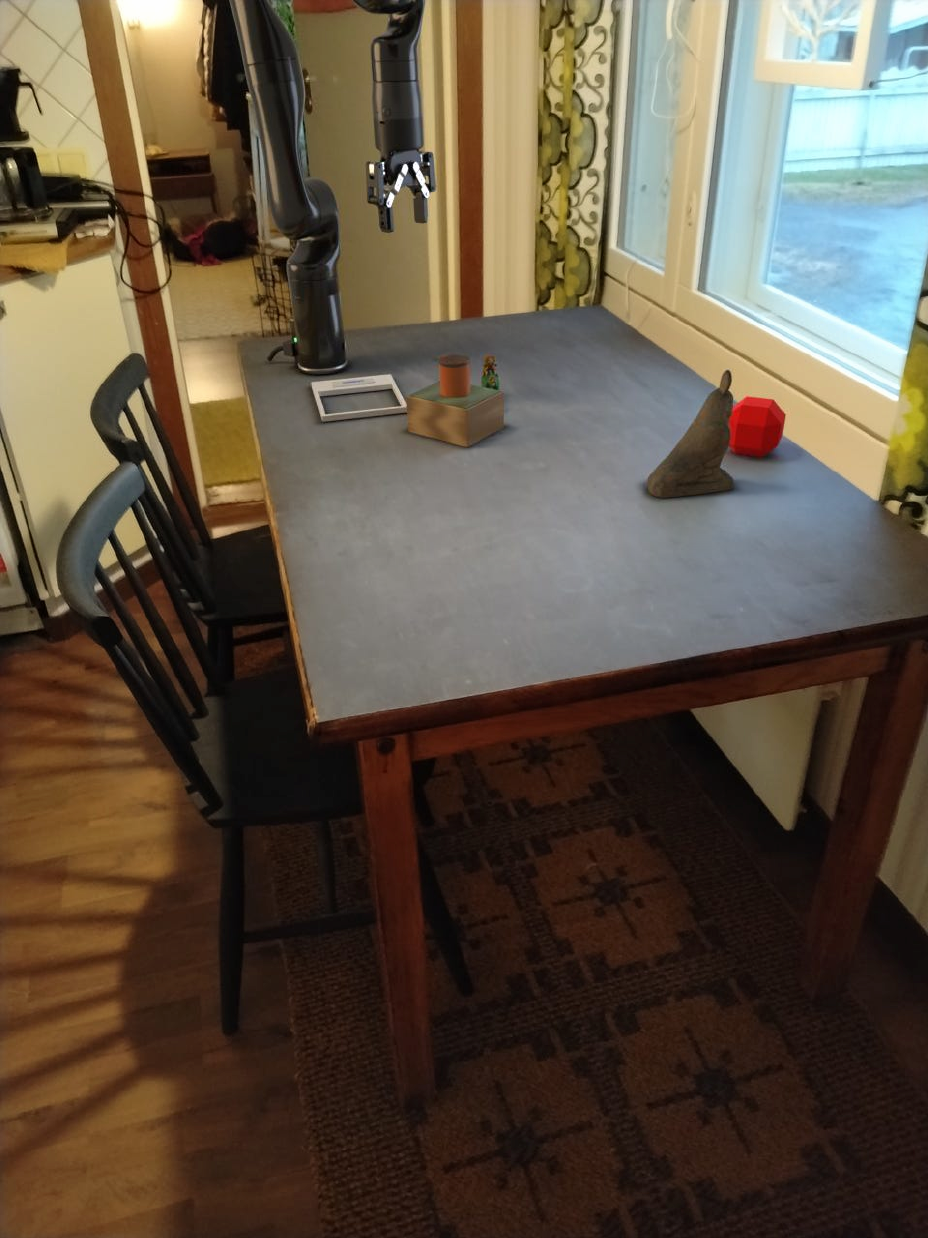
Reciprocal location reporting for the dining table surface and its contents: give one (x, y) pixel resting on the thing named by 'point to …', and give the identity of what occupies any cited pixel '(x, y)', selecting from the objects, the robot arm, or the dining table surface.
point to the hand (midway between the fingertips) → (404, 227)
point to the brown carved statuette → (699, 451)
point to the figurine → (490, 374)
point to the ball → (756, 426)
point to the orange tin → (454, 375)
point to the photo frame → (352, 387)
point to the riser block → (455, 414)
